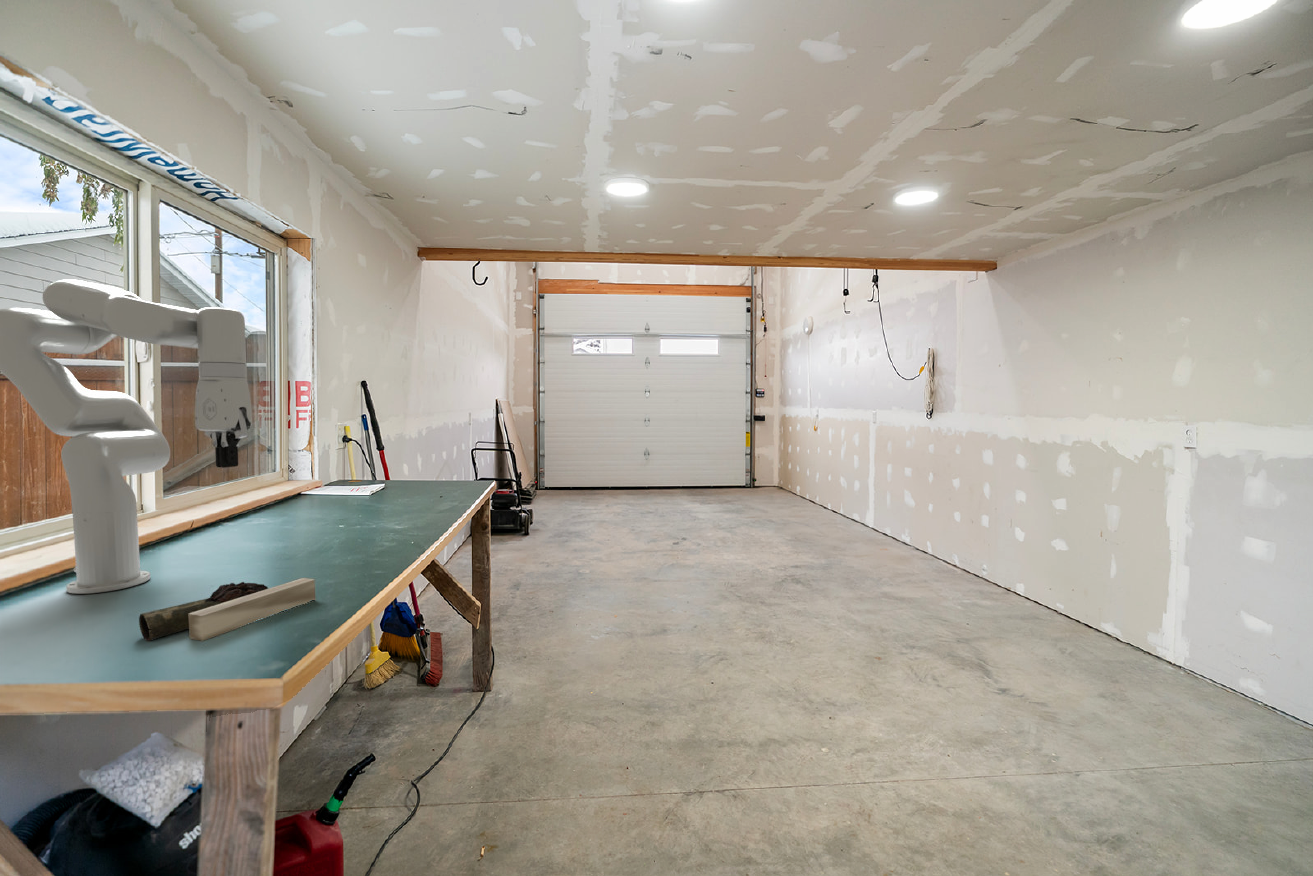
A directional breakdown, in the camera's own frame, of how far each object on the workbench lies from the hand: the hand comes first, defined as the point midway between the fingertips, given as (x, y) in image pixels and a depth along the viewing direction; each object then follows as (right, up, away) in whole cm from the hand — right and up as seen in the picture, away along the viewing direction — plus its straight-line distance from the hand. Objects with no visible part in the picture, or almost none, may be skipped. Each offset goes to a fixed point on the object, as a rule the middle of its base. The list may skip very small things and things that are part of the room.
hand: (227, 466), depth 114 cm
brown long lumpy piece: (+8, -26, -15) cm, 31 cm away
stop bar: (+15, -26, -13) cm, 33 cm away
